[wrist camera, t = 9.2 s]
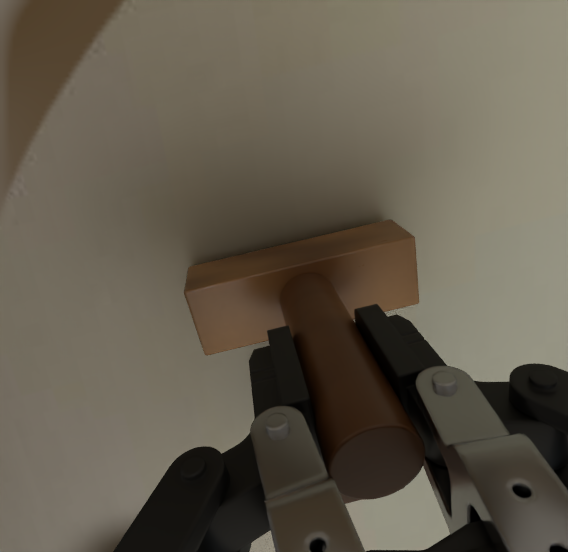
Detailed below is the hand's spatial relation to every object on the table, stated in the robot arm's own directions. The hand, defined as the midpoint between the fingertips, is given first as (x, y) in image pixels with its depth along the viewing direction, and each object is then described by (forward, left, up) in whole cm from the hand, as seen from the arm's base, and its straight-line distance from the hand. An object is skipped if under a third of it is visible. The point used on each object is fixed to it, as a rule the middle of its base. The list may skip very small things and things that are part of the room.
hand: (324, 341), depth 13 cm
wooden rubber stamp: (0, 0, -6) cm, 6 cm away
